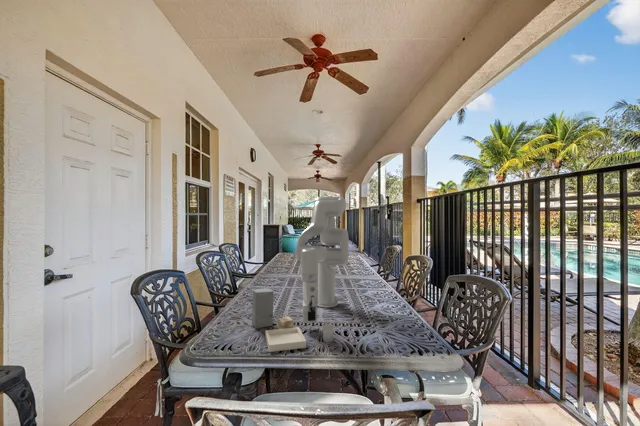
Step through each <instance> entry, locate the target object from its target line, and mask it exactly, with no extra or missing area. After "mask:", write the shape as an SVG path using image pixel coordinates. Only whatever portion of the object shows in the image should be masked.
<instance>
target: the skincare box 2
mask: <svg viewBox="0 0 640 426" xmlns="http://www.w3.org/2000/svg"><path fill="white" fill-rule="evenodd" d="M309 304H312V303H309ZM315 305H316V307H315V308H316V309H315V310H316V320H314V321H308V311H309V309H308V305H307V304H306V302H305V301H304V300H303V301H302V323H317V322H318V321H317V319H318V316H317V315H318V314H317V313H318V311H317V310H318V308H317V307H318V306H317V304H316V303H315ZM311 307H312V306H310V308H311Z"/></svg>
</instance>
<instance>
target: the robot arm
mask: <svg viewBox="0 0 640 426" xmlns="http://www.w3.org/2000/svg"><path fill="white" fill-rule="evenodd" d="M346 201H347V200H346V199H345V198H344V197H343V196H319V197H316V198H315V199H314V200H313V209H312V214H311V219H310V225H309V226H307V228H306V229H304V230H303V231H302V233H300V235H299V237H298V239H297V243H296V248H295V259H296V260H297V261H299V262H300V282H302V299H303V301H305V302H306V304H307V305H308V309H309V311H308V321H314V320H316V310H315V309H316V308H315V307H316V305H315V303H316V304H317V307H320V308H326V309H327V308H335V307H337V306H338V304H339V302H340V301H344V296H337V295H336V272H335V269H334V268H333V266H339V267H340V266H343V267H344V266H346V265H348V263H349V249H350V248H349V247H350V246H349V242H350V241H349V239H350V238H349V231H348V230H347V229H345V228H338V227H337V228H336V218H337V217H341V216H342V215H343V214H344V212H345V210H346V207H347V202H346ZM317 236H319V240H320V243H321V244H322V245H324V246H336V247H324V246H320V245H306V243H308V241H309V240H311V238H314V237H317ZM337 246H339V247H337ZM309 303H312V304H309ZM310 306H312V307H311V308H310Z"/></svg>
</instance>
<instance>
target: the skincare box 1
mask: <svg viewBox="0 0 640 426" xmlns="http://www.w3.org/2000/svg"><path fill="white" fill-rule="evenodd" d="M251 304H252V305H251V306H252V307H251V308H252V311H251V324H252V326H254V329H262V328H266V327H273V325H274V324H273V323H274V290H272V289H270V288H259V289H252V303H251Z"/></svg>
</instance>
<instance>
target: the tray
mask: <svg viewBox="0 0 640 426" xmlns="http://www.w3.org/2000/svg"><path fill="white" fill-rule="evenodd" d="M264 336H265V340H266V345H267V348H268V353H269V352H270V353H271V352H272V353H273V352H280V351H281V352H282V351H289V350H297V349H305V348H307V340H306V338H305V336H304V334H303V332H302V331H301V329H300V327H299V326H296V327H294V326H293V328H284V329H278V328H276V329H266V330H265V335H264Z"/></svg>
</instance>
